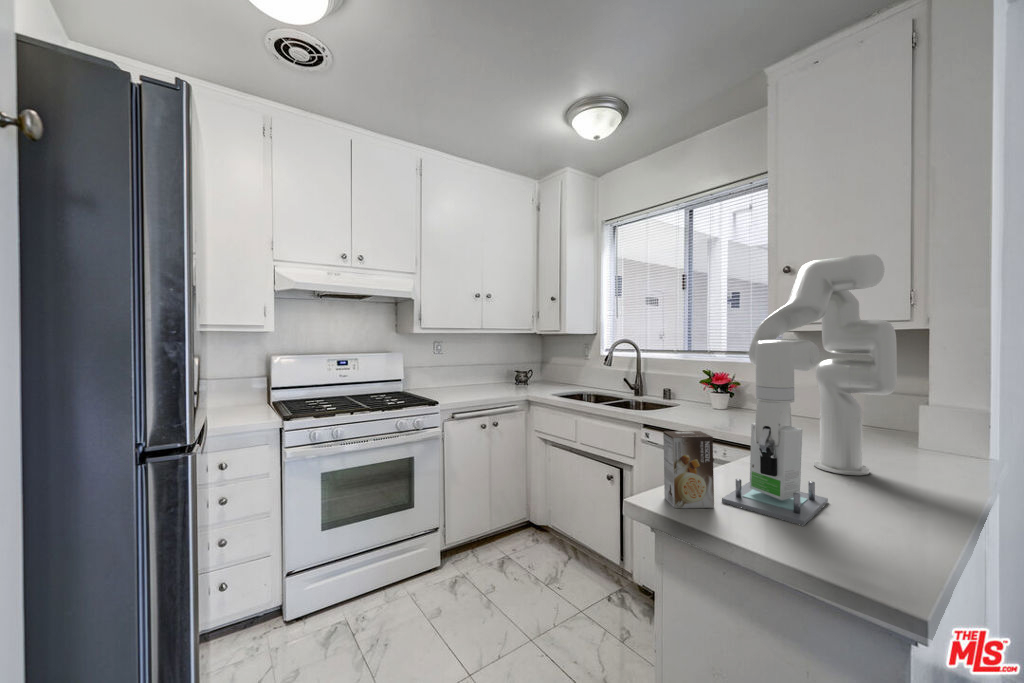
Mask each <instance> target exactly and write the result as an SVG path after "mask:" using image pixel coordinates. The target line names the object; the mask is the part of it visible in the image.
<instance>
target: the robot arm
mask: <svg viewBox="0 0 1024 683" xmlns="http://www.w3.org/2000/svg"><path fill="white" fill-rule="evenodd" d="M884 274H885V265H884V262H883V260H882V258H881V257H880V256H879V255H877V254H875V253H868V254H859V255H857V254H856V255H846V256H839V257H831V258H830V257H829V258H825V259H816V260H812V261H809V262H807V263H805V264H803V265H802V266H801V267H800V268H799V270H798V272H797V274H796V277H795V280H794V282H793V286H792V289H791V290H790V294H789V295H788V299H787V302H786V304H784V305H783V306H780V308H778V309H776V310H775V311H773V312H772V313H771V314H770V315H768V316H767V317H766V318H765V319H763V321H762V322H760V324H759V325H758V326H757V328H756V330H755V332H754V335H753V337H752V339H751V343H750V346H749V351H748V358H749V361H750V363H751V365H753V366H754V367H755V400H756V401H757V404H756V409H755V410H756V411H755V418H754V419H755V422H754V423H755V442H756V443H758V444H759V446H760V448H759V450H760V472H761V474H765V475H770V476H774V477H775V476H777V458H775V455H776V447H777V446H779V442H780V430H782V429H785V428H787V427H790V426H791V427H793V426H792V424H793V423H792V406H791V403H794V402H795V372H808V371H810V370H812V369H814V368H815V367H816V368H815V378H816V382H817V383H816V384H817V387H818V395H819V458H816V459H814V460H812V461H813V462H812V464H813V466H814V467H815V468H816V469H820V470H823V471H826V472H830V473H834V474H840V475H846V476H866V475H869V474H870V470H871V469H870V468H869V467H868V466H867V465H864V464H863V410H862V409H863V408H862V406H861V405H860V402H859V401H858V400H857V399H856V397H854V396H853V394H861V395H871V396H874V395H875V396H888V395H890V394H892V393H894V392H895V390H896V389H897V388H896V387H897V382H898V380H897V379H898V362H897V361H898V357H897V355H898V352H897V345H898V344H897V334H896V330H895V327H894V326H893V324H892V323H891V322H889V321H887V320H884V319H861V318H860V302H859V299H857V296H855V295H854V294H853V293H852V292H851V290H852V291H853V290H863V289H868V288H873V287H876V286H877V285H879V284H880V282H881V281H882V280H883V278H884ZM819 320H821V342H822V343H821V344H822V347H823V349H824V350H825V351H826V352H829V353H831V354H840V355H844V354H845V355H867V356H869V357H871V359H863V358H862V359H857V358H828V359H824V360H821V359H820V358H821V353H820V349H819V347H818V346H817V344H816V343H814V342H813V341H811V340H808V339H802V338H801V339H800V338H799V339H798V338H795V339H794V338H793V339H792V338H790V339H789V338H779V337H780V336H781V335H784V334H785V333H787V332H790V331H792V330H794V329H798V328H801V327H804V326H807V325H809V324H813V323H814V322H815V323H816V322H817V321H819ZM820 360H821V361H820ZM772 439H773V440H774V443H773V444H771V443H768V441H770V440H772ZM769 447H772V452H771V449H770V448H769Z"/></svg>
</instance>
